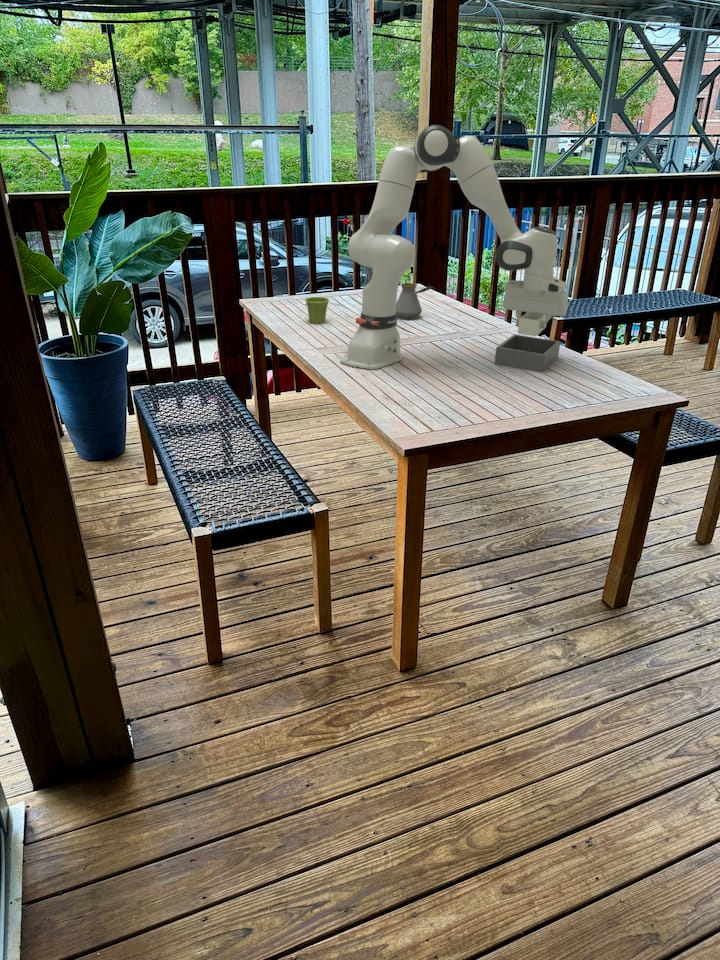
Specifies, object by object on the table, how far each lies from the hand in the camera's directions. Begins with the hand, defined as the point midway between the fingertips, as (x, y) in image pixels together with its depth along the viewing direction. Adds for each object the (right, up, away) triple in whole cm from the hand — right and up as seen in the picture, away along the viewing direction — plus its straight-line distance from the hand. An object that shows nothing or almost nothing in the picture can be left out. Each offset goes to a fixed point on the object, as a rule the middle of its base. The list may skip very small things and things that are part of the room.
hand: (531, 326), depth 211 cm
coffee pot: (-34, +15, +51) cm, 63 cm away
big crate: (0, -11, +5) cm, 12 cm away
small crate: (0, -1, +1) cm, 2 cm away
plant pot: (-73, +12, +46) cm, 87 cm away
